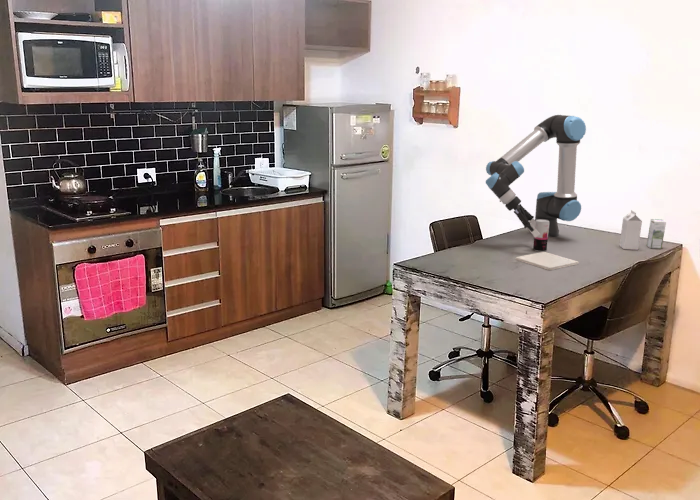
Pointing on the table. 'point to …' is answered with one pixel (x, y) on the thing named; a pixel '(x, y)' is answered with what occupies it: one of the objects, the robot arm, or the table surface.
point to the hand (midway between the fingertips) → (538, 232)
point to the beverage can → (541, 235)
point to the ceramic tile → (547, 260)
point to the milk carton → (630, 231)
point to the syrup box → (656, 233)
